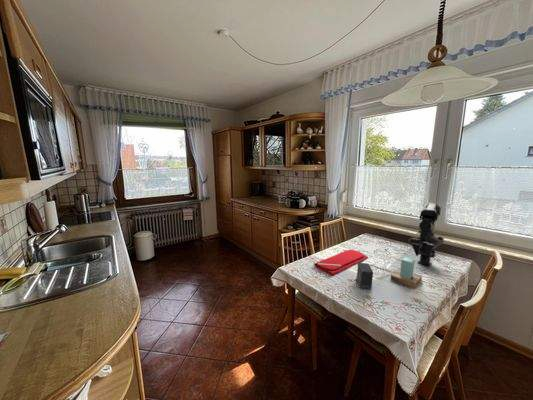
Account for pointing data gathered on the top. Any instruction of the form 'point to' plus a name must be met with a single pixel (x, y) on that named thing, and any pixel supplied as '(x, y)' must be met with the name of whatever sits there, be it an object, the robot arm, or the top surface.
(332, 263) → the dish drying mat
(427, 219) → the robot arm
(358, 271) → the small box
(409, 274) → the teal block
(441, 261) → the top surface
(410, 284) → the walnut base
